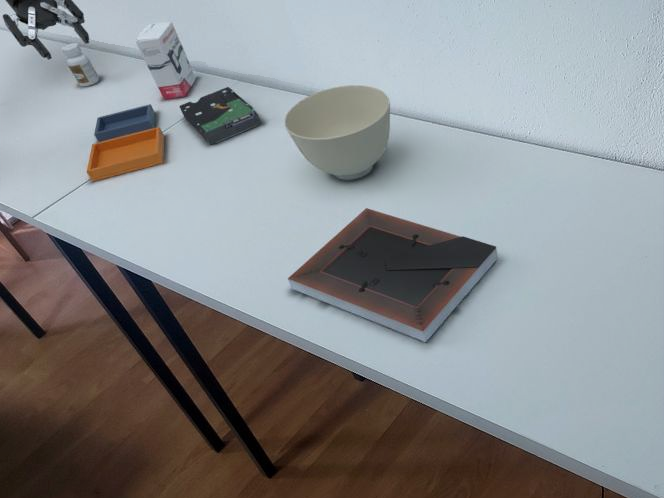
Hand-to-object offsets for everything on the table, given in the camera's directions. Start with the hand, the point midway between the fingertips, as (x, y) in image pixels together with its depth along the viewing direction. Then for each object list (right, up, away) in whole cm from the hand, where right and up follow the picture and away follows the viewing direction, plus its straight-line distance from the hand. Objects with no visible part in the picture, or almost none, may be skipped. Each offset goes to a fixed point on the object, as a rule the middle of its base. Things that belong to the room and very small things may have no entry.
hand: (68, 49), depth 136 cm
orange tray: (+25, -30, -22) cm, 45 cm away
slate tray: (+20, -22, -14) cm, 33 cm away
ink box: (+26, -10, -4) cm, 28 cm away
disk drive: (+39, -22, -16) cm, 48 cm away
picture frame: (+76, -55, -53) cm, 107 cm away
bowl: (+67, -35, -33) cm, 83 cm away
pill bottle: (+2, -5, +4) cm, 7 cm away
